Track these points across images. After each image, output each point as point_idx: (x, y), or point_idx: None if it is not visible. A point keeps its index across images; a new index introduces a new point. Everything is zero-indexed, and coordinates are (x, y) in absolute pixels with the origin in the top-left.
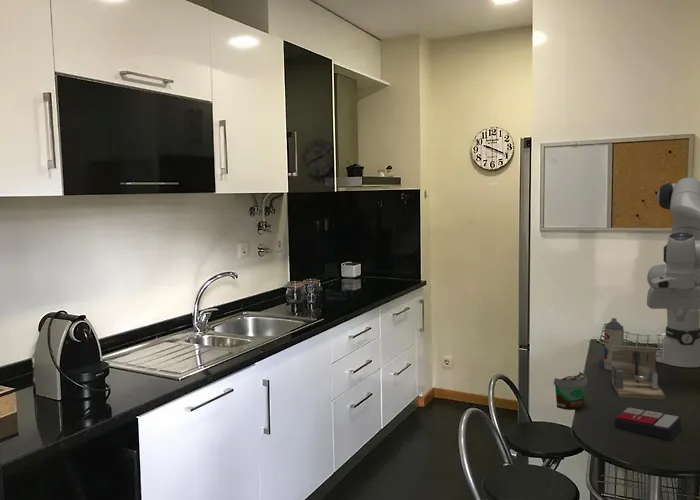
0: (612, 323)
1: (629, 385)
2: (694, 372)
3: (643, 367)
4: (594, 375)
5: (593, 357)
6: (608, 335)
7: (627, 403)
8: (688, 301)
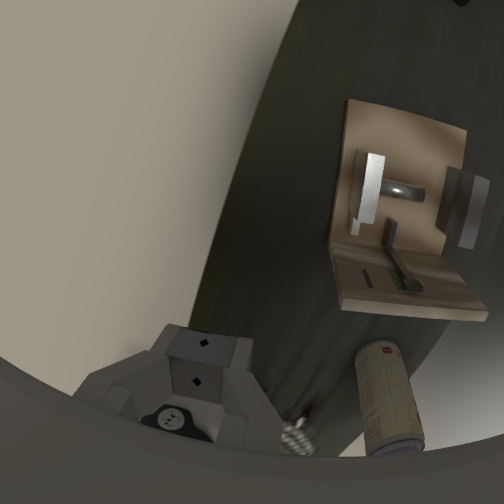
0: None
1: None
2: None
3: (372, 261)
4: None
5: None
6: (419, 421)
7: (451, 82)
8: (11, 472)
